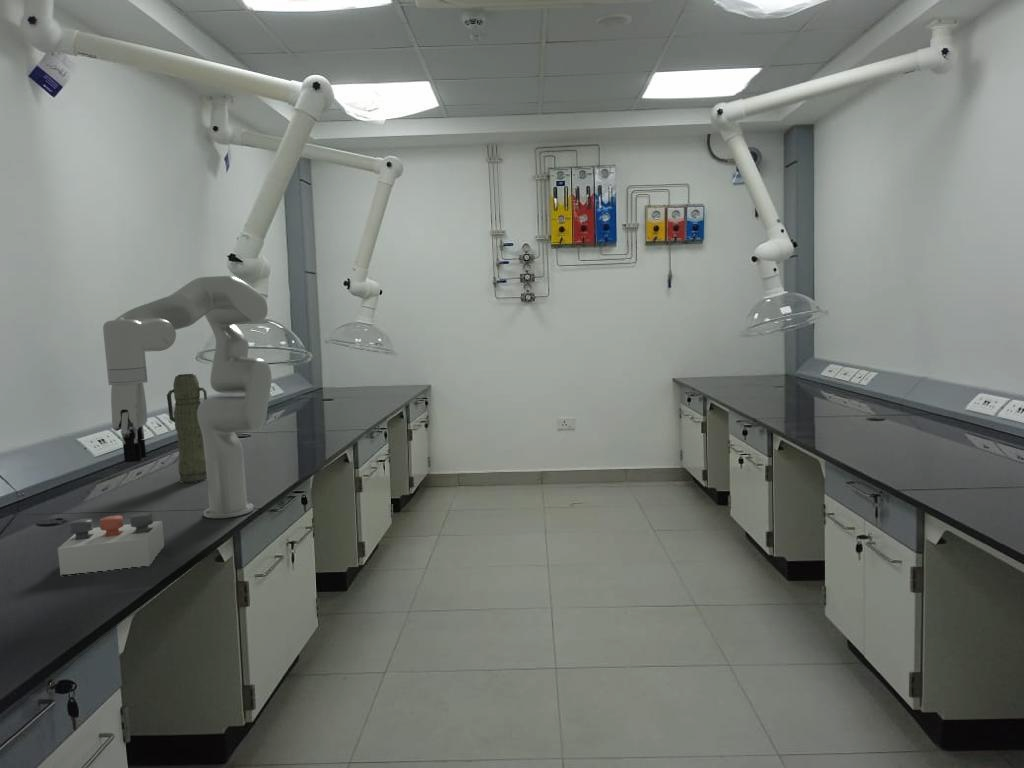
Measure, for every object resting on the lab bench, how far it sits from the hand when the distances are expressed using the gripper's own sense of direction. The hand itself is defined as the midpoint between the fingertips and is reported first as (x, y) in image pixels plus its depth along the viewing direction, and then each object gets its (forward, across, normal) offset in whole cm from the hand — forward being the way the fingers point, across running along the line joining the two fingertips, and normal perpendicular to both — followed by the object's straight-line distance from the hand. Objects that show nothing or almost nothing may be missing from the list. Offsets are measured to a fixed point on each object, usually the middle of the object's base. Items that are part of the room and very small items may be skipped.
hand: (135, 459), depth 156 cm
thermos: (+22, -80, -4) cm, 83 cm away
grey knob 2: (+18, 0, 0) cm, 18 cm away
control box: (+22, 0, -6) cm, 23 cm away
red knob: (+18, 0, -6) cm, 19 cm away
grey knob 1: (+18, 0, -12) cm, 22 cm away
